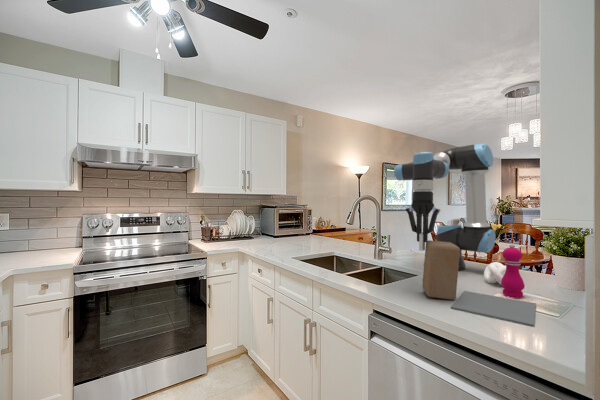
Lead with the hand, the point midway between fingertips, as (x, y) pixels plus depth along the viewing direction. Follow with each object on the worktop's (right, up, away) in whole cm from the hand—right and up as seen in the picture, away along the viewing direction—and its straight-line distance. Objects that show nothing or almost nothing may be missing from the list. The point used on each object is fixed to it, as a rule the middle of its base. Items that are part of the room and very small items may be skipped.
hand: (422, 250), depth 112 cm
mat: (+18, -17, -15) cm, 29 cm away
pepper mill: (+33, -17, -4) cm, 37 cm away
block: (+5, -17, -3) cm, 18 cm away
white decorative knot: (+39, -17, +10) cm, 44 cm away
